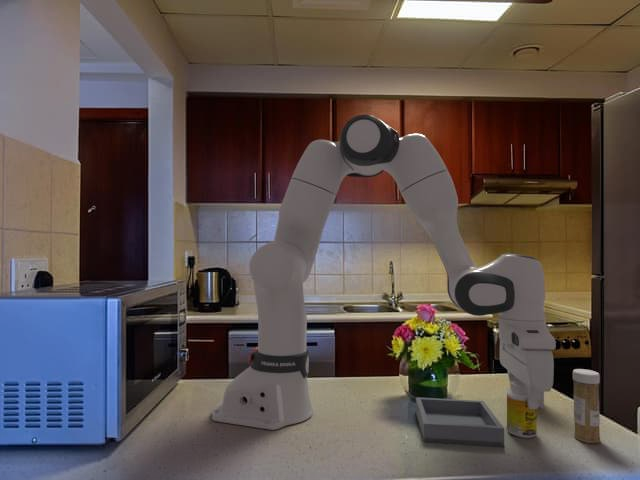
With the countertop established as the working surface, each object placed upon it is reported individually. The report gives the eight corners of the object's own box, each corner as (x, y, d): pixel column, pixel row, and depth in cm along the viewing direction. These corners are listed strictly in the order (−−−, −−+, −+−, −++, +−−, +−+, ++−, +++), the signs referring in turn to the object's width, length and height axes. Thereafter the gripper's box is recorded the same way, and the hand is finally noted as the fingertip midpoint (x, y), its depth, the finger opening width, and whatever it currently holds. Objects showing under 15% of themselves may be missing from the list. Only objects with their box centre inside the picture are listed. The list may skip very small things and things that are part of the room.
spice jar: (603, 445, 80) (603, 375, 81) (577, 442, 82) (576, 373, 82) (596, 436, 84) (595, 369, 85) (570, 433, 86) (569, 367, 86)
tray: (423, 441, 81) (423, 423, 81) (415, 412, 96) (415, 397, 96) (504, 447, 79) (504, 428, 79) (483, 416, 94) (483, 400, 94)
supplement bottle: (527, 441, 82) (526, 389, 82) (501, 431, 86) (501, 381, 87) (542, 435, 85) (542, 384, 85) (516, 425, 89) (516, 377, 90)
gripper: (491, 323, 97) (492, 383, 96) (523, 341, 77) (525, 417, 76) (520, 323, 96) (521, 384, 96) (560, 342, 76) (561, 419, 75)
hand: (523, 399), depth 86 cm, fingers open, 8 cm apart
